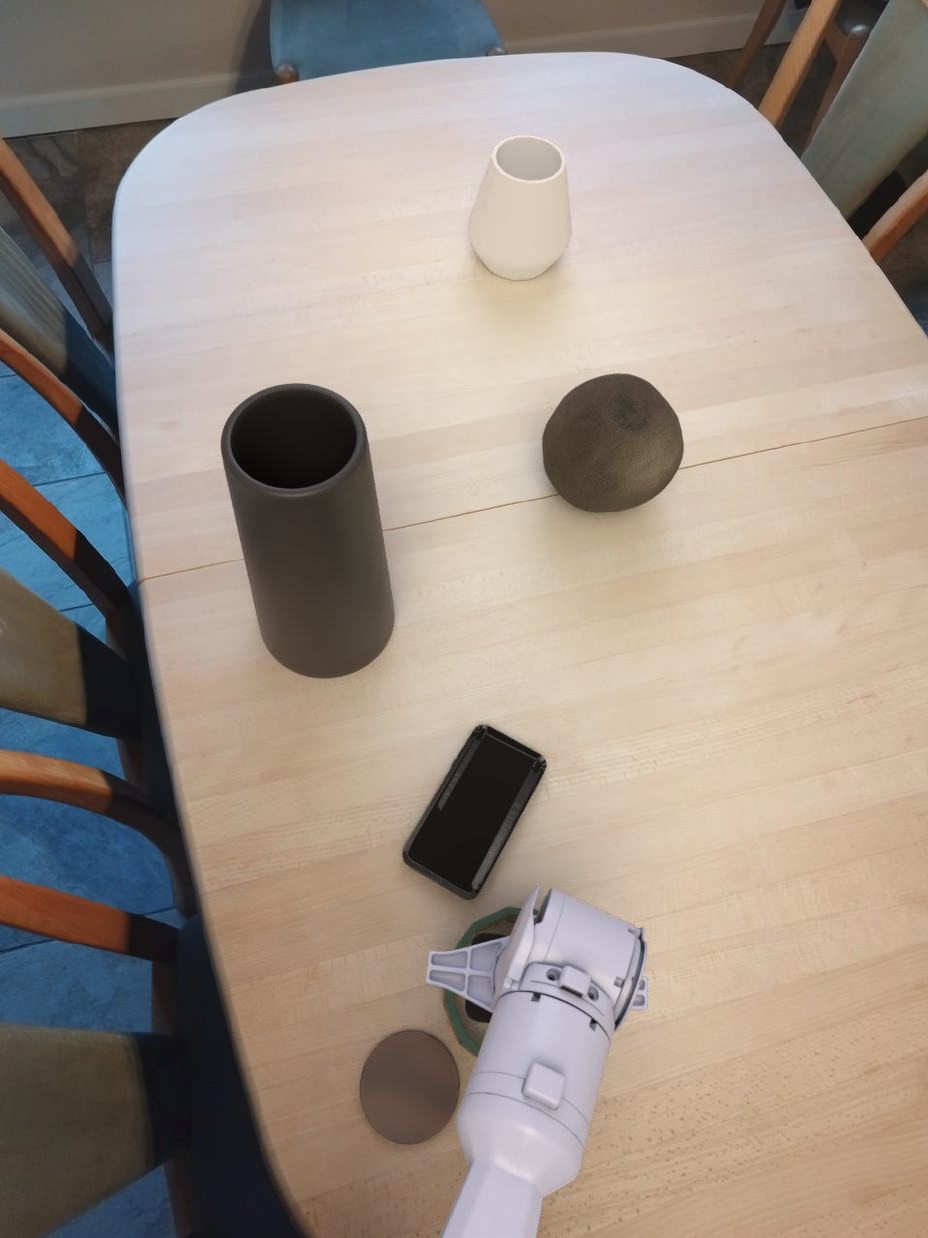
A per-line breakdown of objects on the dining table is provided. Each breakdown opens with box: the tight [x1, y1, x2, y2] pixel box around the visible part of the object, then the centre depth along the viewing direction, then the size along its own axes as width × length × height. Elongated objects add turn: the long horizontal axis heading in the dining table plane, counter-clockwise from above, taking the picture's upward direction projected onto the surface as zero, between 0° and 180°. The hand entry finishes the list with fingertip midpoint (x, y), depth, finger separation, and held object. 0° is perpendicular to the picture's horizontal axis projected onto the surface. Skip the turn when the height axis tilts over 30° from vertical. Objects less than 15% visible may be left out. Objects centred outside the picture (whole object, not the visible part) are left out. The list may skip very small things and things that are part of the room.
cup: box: [466, 134, 573, 282], centre depth 108 cm, size 13×13×14 cm
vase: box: [220, 382, 395, 679], centre depth 76 cm, size 14×14×29 cm
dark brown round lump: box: [541, 372, 685, 514], centre depth 91 cm, size 14×14×15 cm
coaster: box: [359, 1030, 461, 1145], centre depth 70 cm, size 8×8×1 cm
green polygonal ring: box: [442, 906, 539, 1059], centre depth 72 cm, size 12×12×4 cm
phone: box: [402, 724, 547, 901], centre depth 80 cm, size 8×1×15 cm
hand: (521, 989), depth 65 cm, fingers closed on salt shaker, 3 cm apart
